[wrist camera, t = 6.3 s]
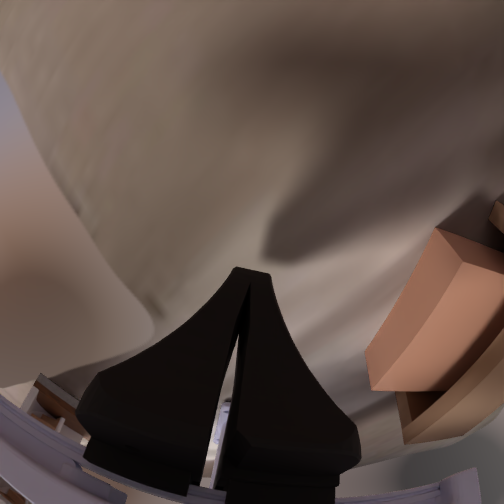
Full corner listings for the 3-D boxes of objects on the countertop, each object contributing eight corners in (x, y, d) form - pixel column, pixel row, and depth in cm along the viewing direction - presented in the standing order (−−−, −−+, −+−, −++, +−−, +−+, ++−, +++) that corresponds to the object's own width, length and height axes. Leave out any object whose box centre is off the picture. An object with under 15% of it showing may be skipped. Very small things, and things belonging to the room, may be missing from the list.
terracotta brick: (449, 354, 15) (461, 389, 12) (363, 346, 15) (371, 390, 12) (515, 256, 10) (543, 289, 8) (431, 223, 11) (462, 261, 8)
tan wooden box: (444, 374, 15) (462, 435, 11) (390, 372, 15) (404, 444, 11) (542, 228, 9) (596, 285, 5) (496, 200, 9) (567, 264, 5)
